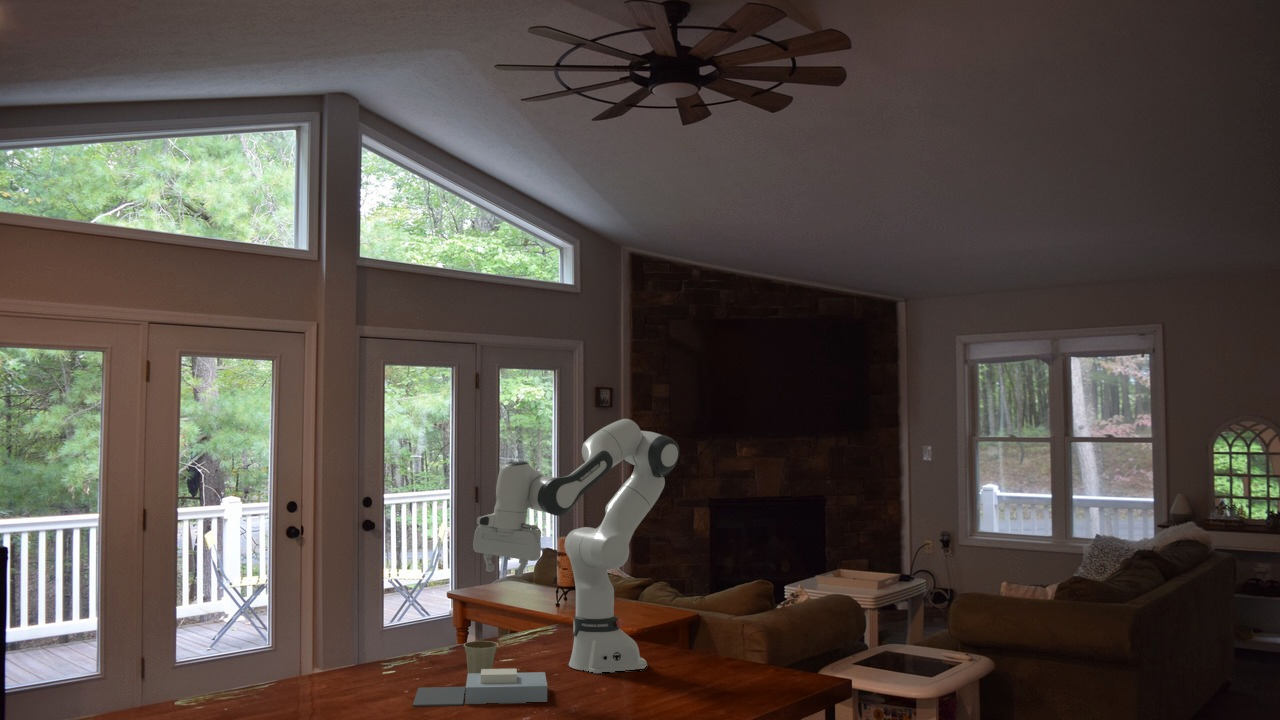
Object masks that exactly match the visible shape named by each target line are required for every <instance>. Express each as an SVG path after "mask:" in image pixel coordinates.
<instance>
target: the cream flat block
mask: <svg viewBox="0 0 1280 720" xmlns="http://www.w3.org/2000/svg"><path fill="white" fill-rule="evenodd" d="M517 673H518V669H517V668H492V669H481V682H480V683H513V682H517Z"/></svg>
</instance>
